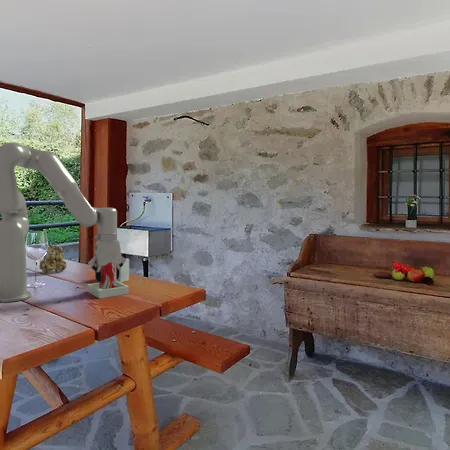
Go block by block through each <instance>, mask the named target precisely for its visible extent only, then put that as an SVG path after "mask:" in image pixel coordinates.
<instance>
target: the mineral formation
mask: <svg viewBox="0 0 450 450" xmlns="http://www.w3.org/2000/svg"><path fill="white" fill-rule="evenodd" d="M48 246H49V247H48ZM48 246H47V247H48V251H47V250H46V252H47V254H46V255H45V256H44V257H43V258H42V259H43V260H40V261H39V270H41V271H42V274H43V275H47V274H48V273H49V274H51V273H52V272H53V271H55V272H58V271H59V272H64V271H65V270H66V269H67V261H66V260H64V256H65V254H64V253H63V247H62V246H58V245H55V244H54V245H53V244H52V243H49V244H48ZM46 273H47V274H46Z"/></svg>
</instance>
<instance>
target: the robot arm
mask: <svg viewBox="0 0 450 450" xmlns="http://www.w3.org/2000/svg"><path fill="white" fill-rule="evenodd" d="M16 166H17V167H21V168H25V169H29V170H34V171H38V172H40V173H41V174H42V175H43V177H44V178H45V179H46V180H47V182H48V183H49V185H50V186H51V188H52V189H53V191H55V193H56V194H57V196H58V197H59V198H60V200H61V201H62V202H63V204H64V205H65V207H66V208H67V210H68V211H69V212H70V213H71V215H72V216H73V217H74V219H75V220H76V221H77V222H78V224H79V225H81V226H82V227H85V228H89V227H92V226H94V225H97V234H96V235H94V239H95V240H97V241H96V242H95V248H94V256H93V257H92V258H91V259H90V260H89V261H88V262H87V265H89V267H90V268H91V269H92V270H93V271H94V272H95V280H96V281H97V282H98V283H99V282H100V281H101V272H100V269H101V266H105V265H107V264H108V263H110V262H109V261H112V262H111V263H113V264H115V265H116V279H119V270H120V269H121V267H122V266H123V264H124V263H125V261H126V259H127V258H125V257H124V256H122V251H121V244H120V240H119V239H118V211H117V209H116V208H114V207H93V206H91V204H90V203H89V202H88V200H87V199H86V197H85V196H84V194H83V193H82V192H81V190H80V187H79V185H78V183H77V181H76V180H75V178H74V177H73V176H72V174H71V173H70V172H69V171H68V169H67V168H66V166H65V165H64V164H63V162H62V160H61V159H60V157H59V155H58V154H57V153H55V152H53V151H50V150H41V149H37V148H33V147H29V146H26V145H23V144H21V143H18V142H12V141H11V142H7V143H3V144H1V145H0V213H1V214H0V216H1V219H2V220H0V302H2V303H12V302H13V303H14V302H19V301H24V300H28V299H30V298H31V297H32V292H31V291H29V290H28V289H27V288H28V287H27V285H28V284H27V283H28V279H27V254H26V253H27V250H26V241H25V240H26V239H25V237H26V236H27V234H28V233H29V230H30V222H29V215H28V209H27V201H26V197H25V196H24V194H23V193H22V192H21V191H19V190H18V181H17V176H16V172H15V169H16V168H15V167H16Z"/></svg>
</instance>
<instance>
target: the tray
mask: <svg viewBox="0 0 450 450" xmlns="http://www.w3.org/2000/svg"><path fill="white" fill-rule="evenodd" d="M129 291H130V287H129V285H126V283H125V284H124V282H121V283H120V282H118V281H116V287H115V288H112V289H105V290H103V289H101V288H100V287H99V282H95V283H88V284H87V292H88V293H89V294H91V295H92V296H94V297H96V298H97V297H98V299H99V298H100V299H106V298H111V297H112V298H113V297H117V296H123V294H124V295H129V293H130V292H129Z"/></svg>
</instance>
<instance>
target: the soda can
mask: <svg viewBox="0 0 450 450" xmlns="http://www.w3.org/2000/svg"><path fill="white" fill-rule="evenodd" d="M109 262H110V263H108V264H107V265H105V266H101V269H100V272H101V281H100V282H99V281H98V283H99V287H100V288H101V289H103V290H105V289H112V288H115V287H116V265H115V264H113V263H111V262H112V261H109Z"/></svg>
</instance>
